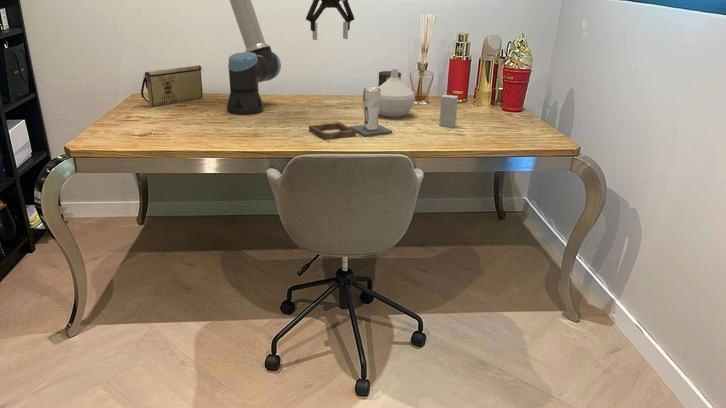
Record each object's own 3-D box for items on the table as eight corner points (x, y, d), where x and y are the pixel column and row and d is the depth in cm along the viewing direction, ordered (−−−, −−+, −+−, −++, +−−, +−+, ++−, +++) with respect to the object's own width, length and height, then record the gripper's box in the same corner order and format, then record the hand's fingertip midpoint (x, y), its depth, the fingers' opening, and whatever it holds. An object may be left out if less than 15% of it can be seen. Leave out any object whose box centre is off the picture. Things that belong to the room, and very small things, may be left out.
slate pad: (364, 136, 201) (364, 134, 201) (349, 128, 211) (349, 126, 210) (392, 133, 207) (392, 130, 207) (375, 125, 216) (376, 123, 216)
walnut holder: (323, 139, 196) (323, 134, 195) (308, 130, 206) (308, 125, 206) (355, 135, 202) (355, 130, 201) (339, 127, 212) (339, 122, 212)
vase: (384, 121, 223) (386, 74, 215) (363, 111, 238) (365, 67, 230) (421, 118, 231) (425, 72, 223) (399, 108, 246) (402, 65, 238)
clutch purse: (197, 96, 256) (194, 63, 250) (206, 98, 252) (203, 65, 246) (139, 106, 234) (134, 70, 228) (148, 108, 230) (143, 72, 224)
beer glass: (380, 131, 205) (381, 91, 199) (361, 130, 205) (362, 90, 199) (379, 126, 212) (381, 87, 206) (361, 125, 212) (362, 87, 206)
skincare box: (455, 125, 221) (458, 95, 217) (453, 127, 218) (456, 97, 213) (440, 123, 223) (443, 94, 218) (438, 126, 219) (441, 96, 215)
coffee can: (374, 104, 251) (375, 73, 246) (381, 100, 260) (383, 70, 255) (395, 107, 248) (397, 75, 242) (402, 102, 257) (404, 72, 251)
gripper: (305, -19, 201) (305, 41, 210) (363, -17, 213) (362, 39, 221) (297, -19, 207) (297, 39, 216) (354, -18, 219) (353, 37, 227)
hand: (330, 39), depth 218 cm, fingers open, 13 cm apart
